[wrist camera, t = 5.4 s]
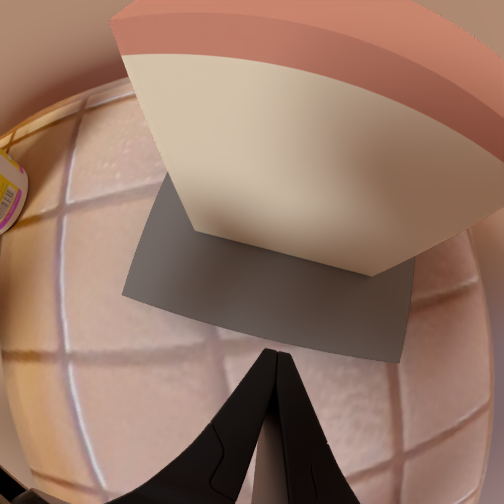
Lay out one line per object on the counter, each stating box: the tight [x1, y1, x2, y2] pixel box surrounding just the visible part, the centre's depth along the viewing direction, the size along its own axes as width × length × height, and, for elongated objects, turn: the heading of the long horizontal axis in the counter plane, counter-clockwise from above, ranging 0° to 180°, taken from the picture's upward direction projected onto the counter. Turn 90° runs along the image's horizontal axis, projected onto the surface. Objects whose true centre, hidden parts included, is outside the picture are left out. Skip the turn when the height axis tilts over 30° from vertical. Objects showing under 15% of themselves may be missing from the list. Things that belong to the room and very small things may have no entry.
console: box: [122, 172, 415, 363], centre depth 16 cm, size 16×16×2 cm
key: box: [109, 0, 504, 277], centre depth 9 cm, size 5×10×12 cm, turn 75°
